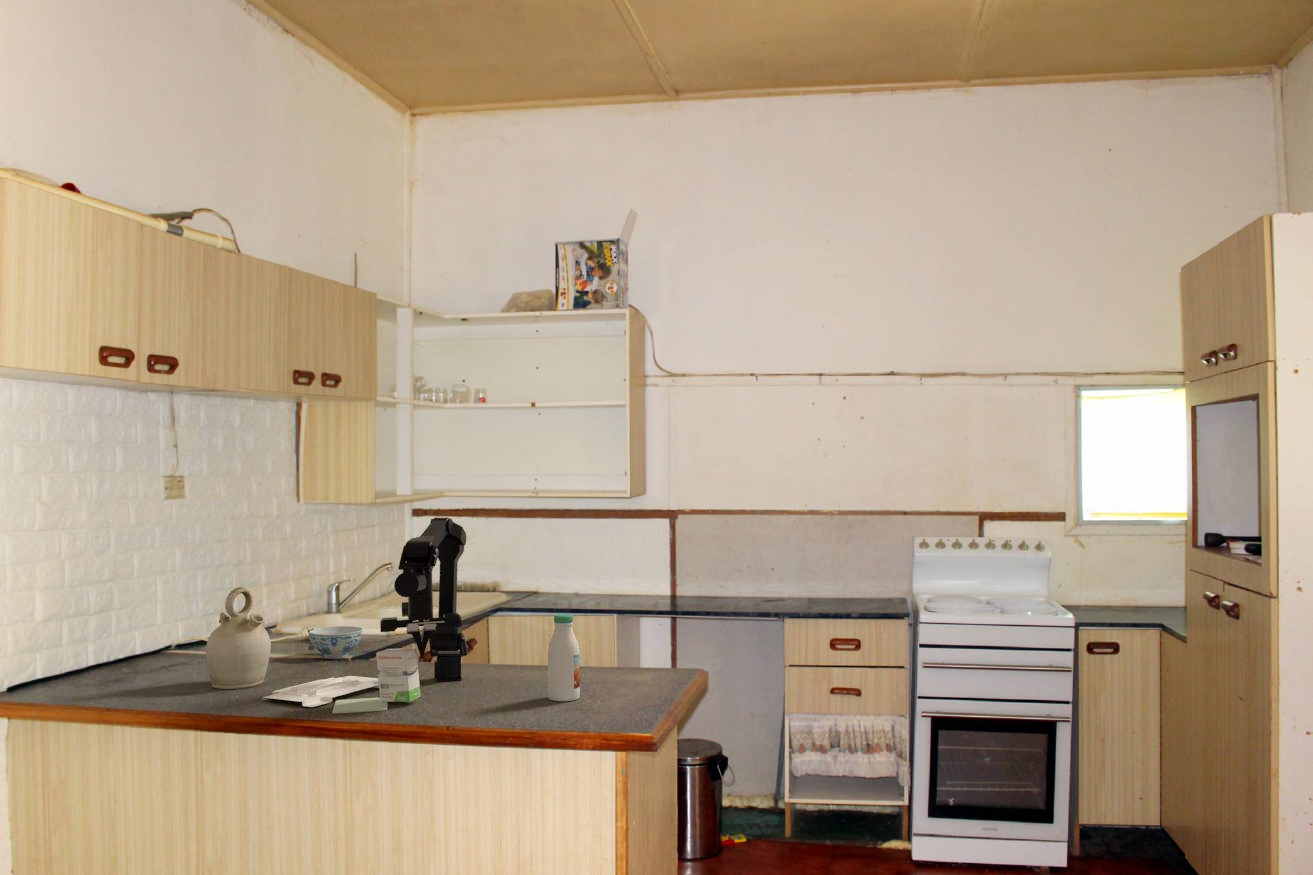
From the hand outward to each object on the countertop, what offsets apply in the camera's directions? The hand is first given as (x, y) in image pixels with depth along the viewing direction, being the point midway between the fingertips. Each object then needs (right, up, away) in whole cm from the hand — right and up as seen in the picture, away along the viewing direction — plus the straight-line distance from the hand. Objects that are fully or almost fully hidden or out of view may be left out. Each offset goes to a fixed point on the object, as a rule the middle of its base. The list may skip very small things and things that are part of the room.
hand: (421, 658), depth 235 cm
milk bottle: (+34, -10, +2) cm, 35 cm away
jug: (-52, -11, +20) cm, 57 cm away
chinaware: (-39, -12, +58) cm, 71 cm away
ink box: (-5, -10, -1) cm, 11 cm away
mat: (-13, -10, -4) cm, 17 cm away
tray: (-26, -11, +10) cm, 30 cm away
